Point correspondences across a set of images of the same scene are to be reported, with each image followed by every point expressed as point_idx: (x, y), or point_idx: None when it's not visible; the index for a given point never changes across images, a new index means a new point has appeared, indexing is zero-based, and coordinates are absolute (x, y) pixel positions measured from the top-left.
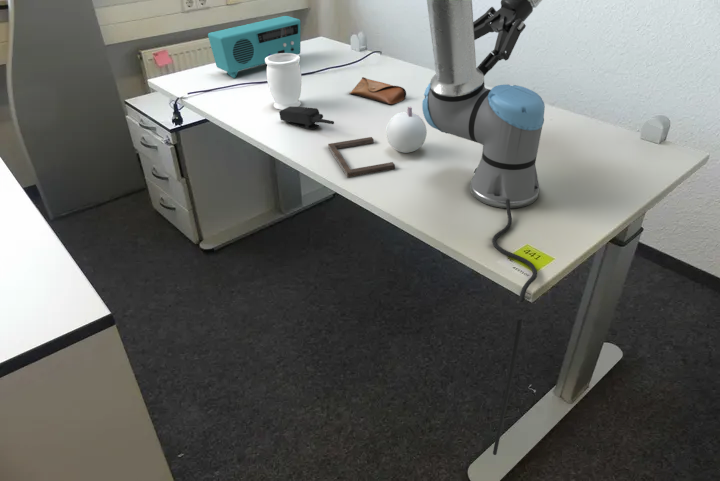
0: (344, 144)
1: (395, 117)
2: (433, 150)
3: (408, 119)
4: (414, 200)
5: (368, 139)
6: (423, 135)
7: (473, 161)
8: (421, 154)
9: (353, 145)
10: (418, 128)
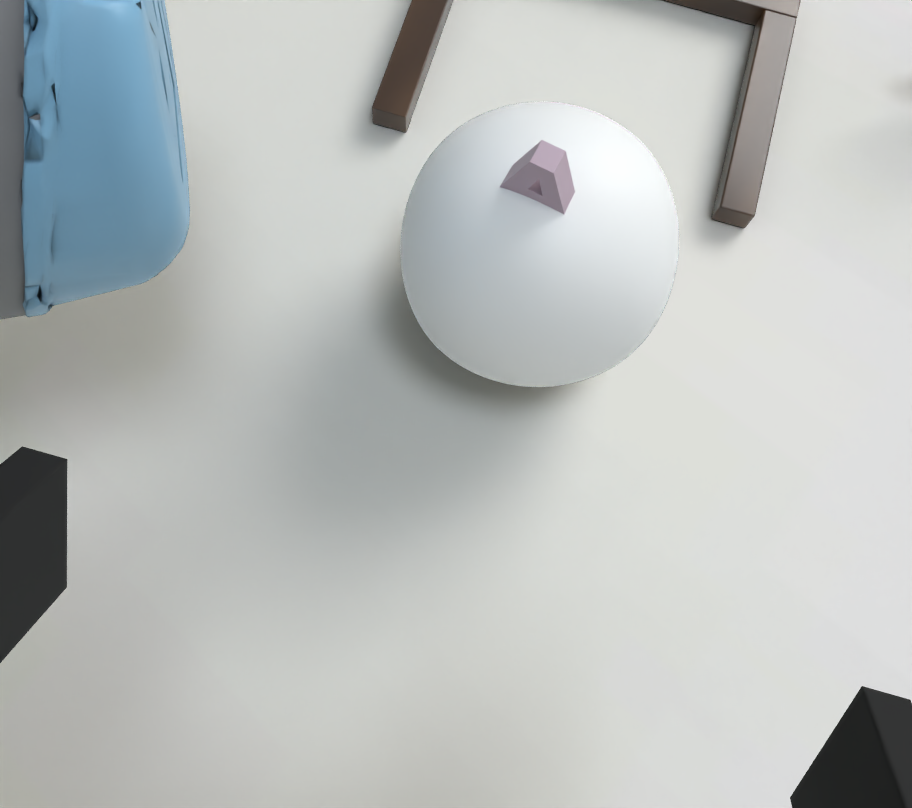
0: (751, 56)
1: (589, 120)
2: (416, 431)
3: (488, 152)
4: None
5: (731, 181)
6: (406, 285)
7: (138, 525)
8: (420, 340)
9: (737, 111)
10: (416, 219)
